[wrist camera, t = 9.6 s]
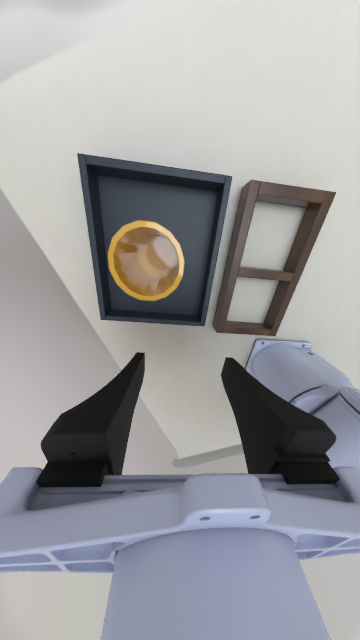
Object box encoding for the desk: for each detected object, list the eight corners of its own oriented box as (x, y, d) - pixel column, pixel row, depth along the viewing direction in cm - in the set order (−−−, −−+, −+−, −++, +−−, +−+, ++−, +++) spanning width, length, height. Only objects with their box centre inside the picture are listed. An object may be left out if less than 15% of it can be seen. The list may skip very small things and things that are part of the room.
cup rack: (318, 198, 17) (336, 192, 15) (267, 329, 24) (275, 336, 22) (242, 187, 16) (251, 179, 14) (212, 325, 23) (216, 332, 21)
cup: (181, 234, 17) (188, 225, 10) (177, 282, 19) (180, 303, 12) (133, 229, 17) (103, 215, 10) (134, 279, 19) (111, 298, 12)
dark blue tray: (223, 186, 16) (232, 176, 13) (201, 317, 22) (204, 326, 20) (92, 168, 15) (76, 152, 12) (108, 311, 21) (100, 319, 19)
